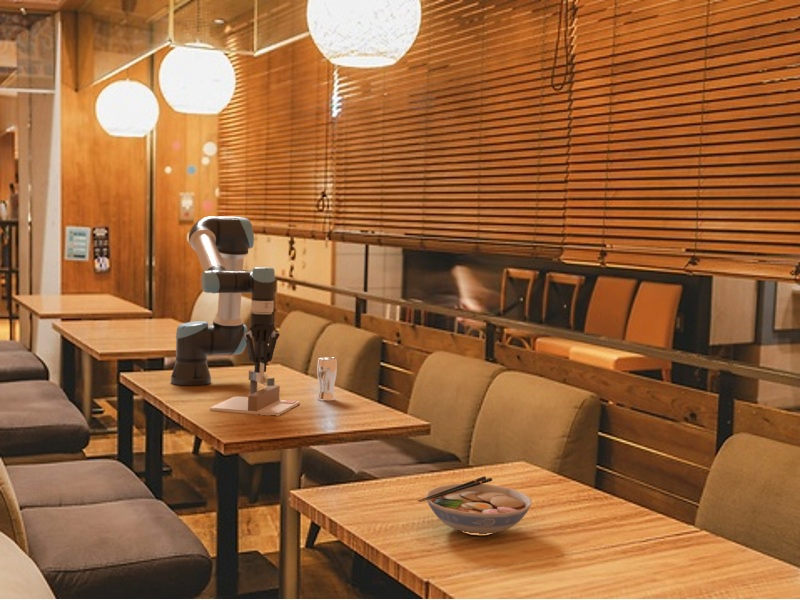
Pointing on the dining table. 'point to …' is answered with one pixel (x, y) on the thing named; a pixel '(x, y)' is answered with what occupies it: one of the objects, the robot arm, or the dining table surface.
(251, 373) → the swing bar
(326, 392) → the beer glass
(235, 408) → the lock base
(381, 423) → the dining table surface
